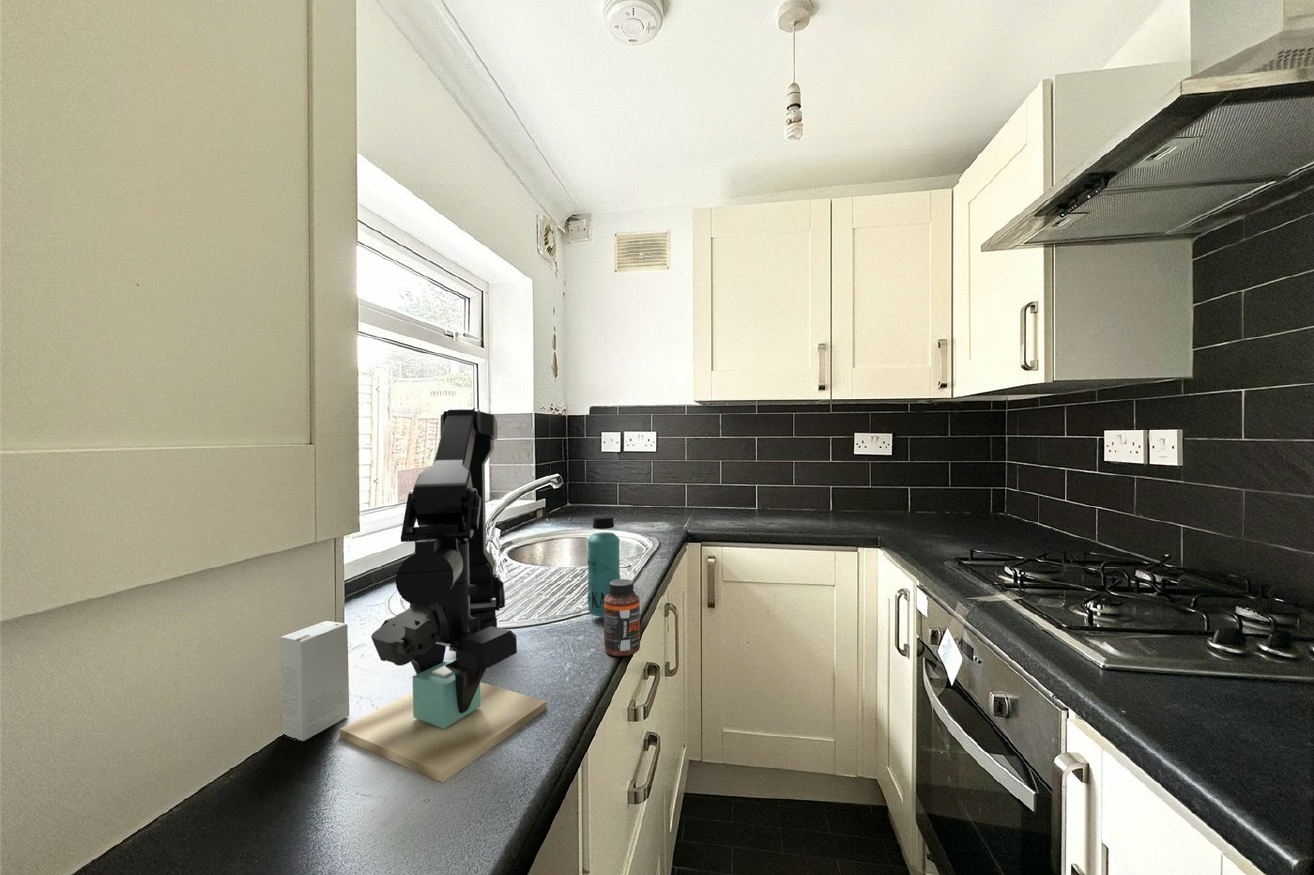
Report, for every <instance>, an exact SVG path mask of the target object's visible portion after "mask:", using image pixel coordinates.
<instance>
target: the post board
mask: <svg viewBox="0 0 1314 875" xmlns="http://www.w3.org/2000/svg"><path fill="white" fill-rule="evenodd" d="M480 706H481V707H479V708H477V709H476V710H474V711H472V712H471V713H469V714H467V715H466V716H464V717H463V718H461V719H459V720H458V721H456V722H454V723H453V724H451V725H449V726H448V727H446V728H441V727H438V726H435V725H433V724H430V723H427V722H424V721H422V720H419V719H416V718H413V692H411V693H409V694H407V695H405V696H403V697H401V698H399V699H397V700H394V701H393V702H391V703H389V704H386V705H385V706H382V707H381V708H379V709H377V710H375V711H373V712H371V713H369V714H367V715H365V716H362V717H360V718H359V719H357V720H355V721H353V722H351V723H349V724H346V725H344V726H343V727H341V728H340V727H339V738H340V739H343V740H345V741H348V742H349V743H351V744H354V745H356V746H358V747H361V748H363V749H365V750H367V751H370V752H372V753H374V754H376V755H379V756H381V757H384V758H385V759H388V760H390V761H392V762H395V763H397V764H399V765H401V766H403V767H406V768H408V769H410V770H411V771H415V772H417V773H419V774H421V775H423V776H426V777H429V778H430V779H433V780H435V781H438V782H439V783H442V784H443V783H444V782H446V781H447V780H449V779H450V778H451V777H453V776H454V775H456V774H457V773H458V772H460V771H461V770H463V769H465V768H466V767H467V766H469V765H470V764H471V763H473V762H474V761H475V760H477V759H478V758H480V757H481V756H482V755H484V754H485V753H487V752H488V751H489V750H491V749H492V748H493V747H495V746H496V745H498V744H499V743H501V742H502V741H504V740H505V739H506V738H508V737H509V736H510V735H513V733H515V732H516V731H517V730H519V729H521V728H523V727H524V726H525V725H526V724H527V723H529V722H530V721H532V720H533V719H535V718H536V717H538V716H539V715H541V713H543V712H544V711H546V710H547V701H546V700H543V699H540V698H537V697H536V698H535V697H534V696H530V695H527V694H524V693H523V694H522V693H520V692H515V691H512V690H509V689H506V688H502V687H499V686H496V685H492V684H488V683H485V682H482V681H480Z"/></svg>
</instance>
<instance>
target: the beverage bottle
mask: <svg viewBox="0 0 1314 875" xmlns="http://www.w3.org/2000/svg"><path fill="white" fill-rule="evenodd" d="M592 528H593V529H594V530H596V529H597V530H606V529H607V530H608V529H612V528H615V522H614V517H613V516H610V515H600V516H594V517H593V518H592ZM620 540H621V539H620V538H619V537H618V535H616V533H614V532H607V531H603V532H602V531H601V532H594V533H592V534H591V535H590V536H589V537H588V538H587V541H586V542H587V556H586V557H587V561H586V564H587V584H586V585H587V586H588V588H587V609H588V612H589V614H590V615H591V616H594V617H603V618H604V598H605V596H606V595H607V594H609V593H610V590H609V583H610V582H611V581H613V580H618V579H621V574H620V573H621V572H620V568H621V567H620V566H621V565H620V564H621V563H620Z"/></svg>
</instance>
